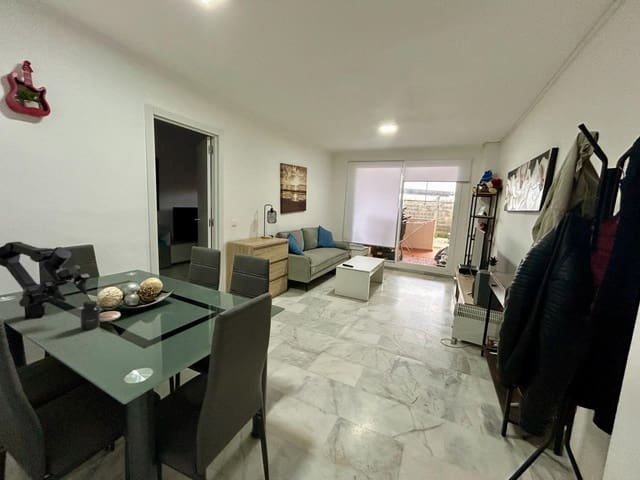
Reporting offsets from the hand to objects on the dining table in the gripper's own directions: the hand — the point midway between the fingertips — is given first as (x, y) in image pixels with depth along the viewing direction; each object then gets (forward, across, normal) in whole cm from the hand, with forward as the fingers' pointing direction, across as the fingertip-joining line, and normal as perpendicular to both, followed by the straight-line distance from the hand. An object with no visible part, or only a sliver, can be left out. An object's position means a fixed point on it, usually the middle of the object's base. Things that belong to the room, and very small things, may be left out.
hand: (75, 297), depth 125 cm
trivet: (+13, +11, +6) cm, 18 cm away
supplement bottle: (+15, 0, +4) cm, 16 cm away
